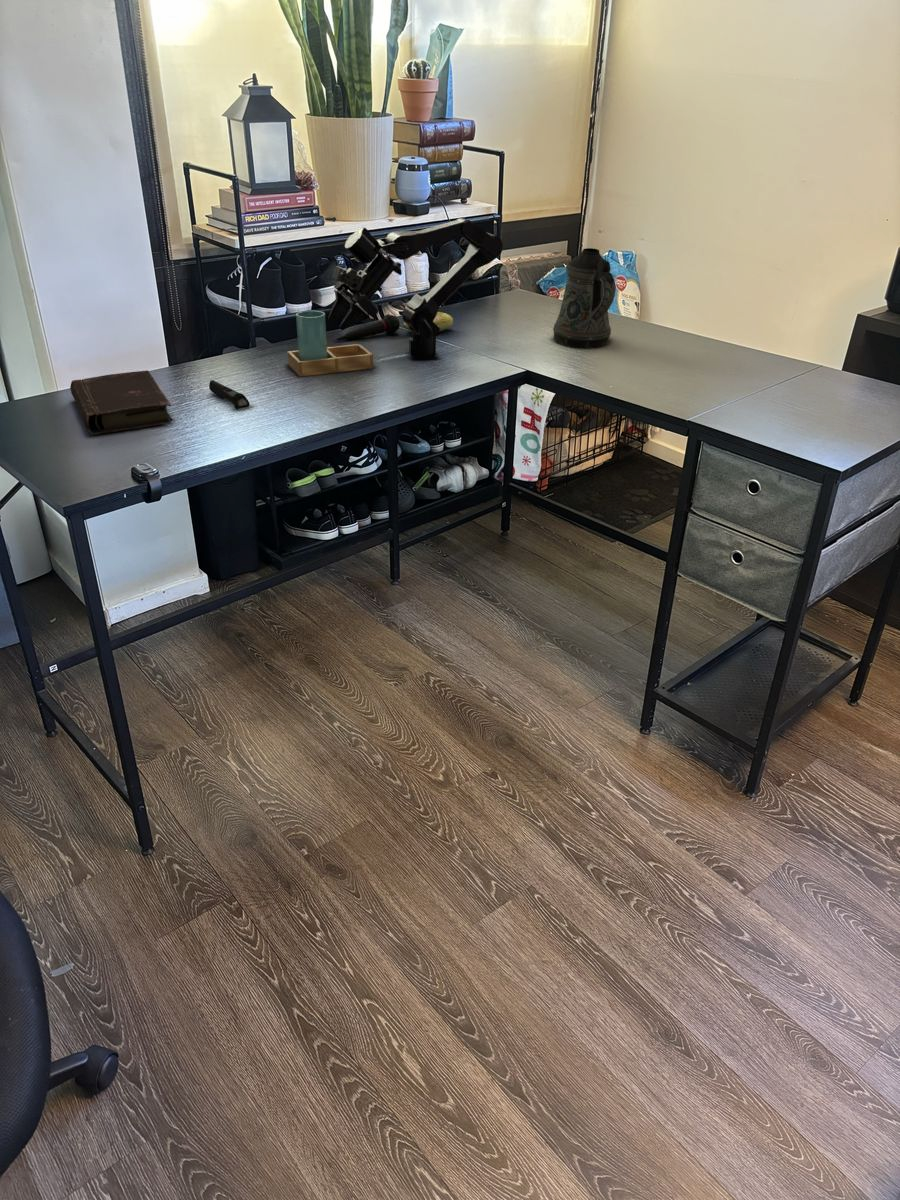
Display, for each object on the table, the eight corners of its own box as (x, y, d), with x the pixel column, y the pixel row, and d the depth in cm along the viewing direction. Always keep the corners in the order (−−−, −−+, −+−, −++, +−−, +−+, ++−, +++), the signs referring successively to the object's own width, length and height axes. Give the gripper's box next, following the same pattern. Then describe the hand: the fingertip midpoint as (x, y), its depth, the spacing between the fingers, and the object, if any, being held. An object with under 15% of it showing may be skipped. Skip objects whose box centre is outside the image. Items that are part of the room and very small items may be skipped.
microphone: (341, 353, 252) (402, 335, 260) (341, 335, 248) (403, 318, 255) (333, 343, 255) (393, 325, 262) (332, 325, 250) (394, 308, 258)
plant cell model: (461, 324, 260) (420, 310, 251) (449, 347, 263) (408, 335, 254) (445, 307, 267) (404, 293, 257) (434, 331, 270) (393, 318, 261)
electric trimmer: (220, 390, 214) (219, 377, 212) (251, 407, 204) (250, 393, 202) (206, 393, 212) (204, 380, 210) (236, 410, 202) (235, 397, 200)
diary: (88, 436, 187) (83, 413, 184) (72, 400, 205) (68, 379, 203) (177, 423, 194) (174, 401, 191) (154, 390, 213) (151, 369, 210)
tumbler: (332, 362, 232) (329, 311, 225) (321, 370, 226) (318, 318, 219) (306, 359, 233) (303, 309, 226) (295, 367, 227) (291, 316, 220)
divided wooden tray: (360, 357, 239) (359, 343, 237) (373, 368, 231) (373, 354, 229) (288, 365, 232) (287, 351, 230) (299, 376, 224) (298, 362, 222)
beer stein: (570, 329, 266) (577, 241, 253) (628, 341, 257) (639, 250, 244) (541, 341, 255) (548, 249, 242) (602, 354, 245) (612, 259, 232)
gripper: (339, 247, 226) (301, 295, 228) (364, 261, 212) (322, 312, 214) (369, 277, 233) (332, 323, 235) (395, 292, 219) (355, 341, 221)
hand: (334, 324), depth 226 cm, fingers open, 9 cm apart
